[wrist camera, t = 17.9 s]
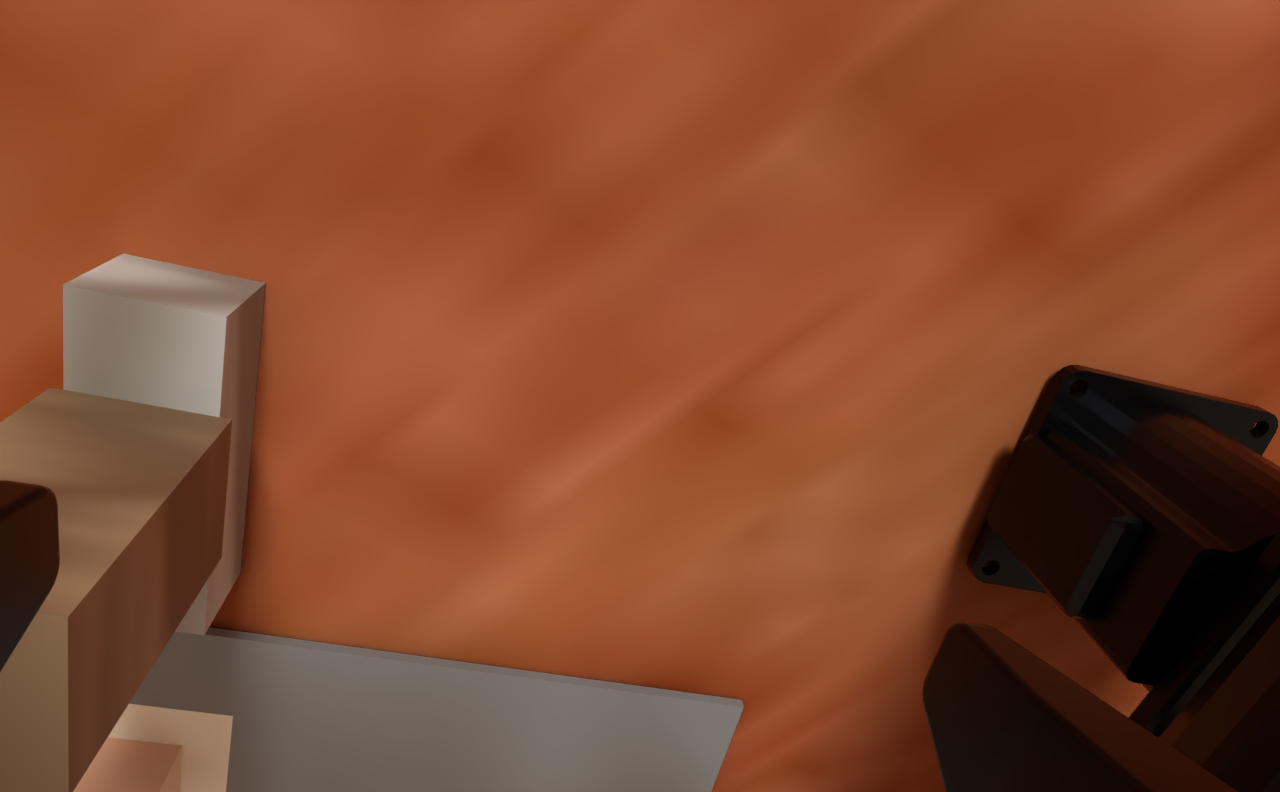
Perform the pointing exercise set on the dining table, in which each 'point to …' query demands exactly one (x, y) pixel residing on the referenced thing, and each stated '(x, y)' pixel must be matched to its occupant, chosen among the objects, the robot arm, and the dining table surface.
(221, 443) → the wood block grey top
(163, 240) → the dining table surface
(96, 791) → the tile
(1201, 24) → the dining table surface
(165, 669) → the board
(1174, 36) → the dining table surface
